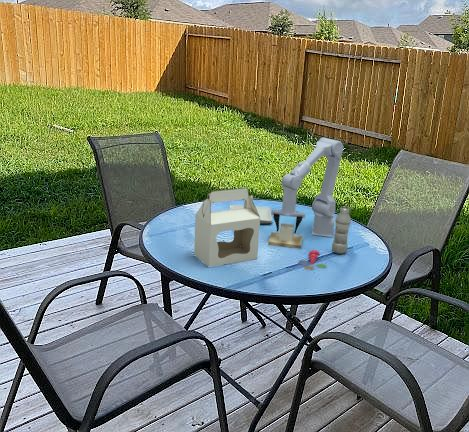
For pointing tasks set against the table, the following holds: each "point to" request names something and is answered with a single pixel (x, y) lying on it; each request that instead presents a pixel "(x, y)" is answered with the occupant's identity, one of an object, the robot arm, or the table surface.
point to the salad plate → (262, 211)
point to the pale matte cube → (286, 232)
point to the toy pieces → (312, 260)
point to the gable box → (235, 219)
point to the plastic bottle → (341, 231)
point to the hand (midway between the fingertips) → (286, 231)
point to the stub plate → (276, 242)
